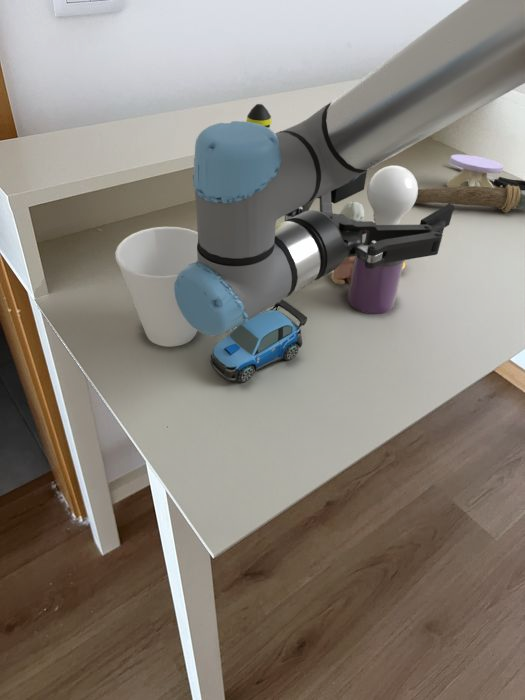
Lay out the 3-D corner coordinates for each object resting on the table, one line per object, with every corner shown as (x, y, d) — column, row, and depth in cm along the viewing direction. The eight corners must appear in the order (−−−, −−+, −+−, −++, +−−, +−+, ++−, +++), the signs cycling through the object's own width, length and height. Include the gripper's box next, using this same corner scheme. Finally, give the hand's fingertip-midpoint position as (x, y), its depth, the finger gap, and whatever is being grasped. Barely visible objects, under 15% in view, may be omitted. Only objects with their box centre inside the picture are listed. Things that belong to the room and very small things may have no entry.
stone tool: (420, 195, 105) (588, 206, 104) (420, 173, 106) (585, 184, 106) (412, 211, 110) (571, 222, 110) (412, 190, 111) (569, 201, 111)
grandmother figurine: (360, 270, 92) (373, 194, 84) (370, 283, 89) (385, 207, 81) (314, 275, 90) (323, 199, 82) (323, 289, 87) (333, 212, 79)
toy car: (204, 364, 74) (203, 329, 70) (277, 330, 79) (280, 295, 76) (232, 391, 70) (232, 355, 66) (306, 353, 76) (310, 318, 72)
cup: (137, 368, 73) (126, 285, 64) (118, 313, 81) (106, 234, 73) (227, 348, 76) (227, 267, 68) (200, 297, 84) (198, 220, 76)
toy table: (438, 190, 114) (445, 161, 111) (450, 177, 120) (458, 149, 117) (488, 203, 111) (498, 173, 107) (498, 188, 117) (507, 160, 113)
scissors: (456, 157, 126) (547, 188, 116) (455, 161, 127) (545, 192, 117) (441, 165, 122) (533, 197, 112) (440, 169, 123) (531, 201, 113)
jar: (403, 297, 87) (416, 243, 81) (382, 321, 82) (395, 265, 76) (360, 280, 90) (369, 227, 84) (337, 302, 85) (346, 247, 79)
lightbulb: (367, 229, 83) (381, 153, 76) (411, 241, 81) (429, 164, 74) (351, 249, 79) (364, 170, 72) (396, 262, 77) (414, 183, 69)
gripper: (222, 239, 74) (328, 191, 86) (383, 328, 62) (481, 257, 74) (222, 184, 70) (334, 140, 82) (396, 268, 57) (499, 202, 69)
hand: (404, 196), depth 78 cm, fingers open, 13 cm apart
